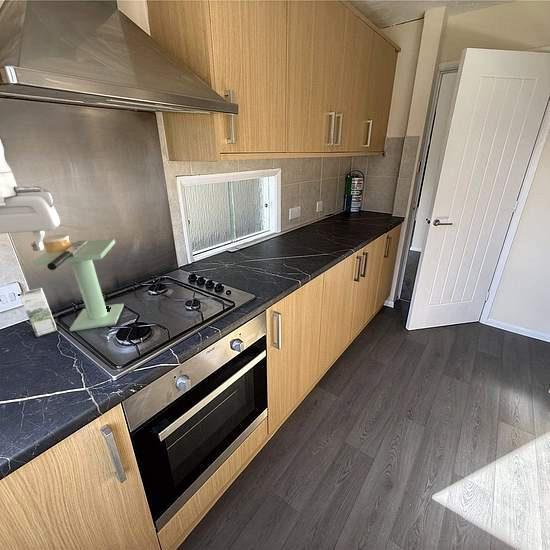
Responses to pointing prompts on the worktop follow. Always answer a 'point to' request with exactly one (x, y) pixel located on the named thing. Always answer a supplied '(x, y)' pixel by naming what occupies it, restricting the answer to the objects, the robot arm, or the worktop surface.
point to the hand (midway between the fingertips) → (14, 251)
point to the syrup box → (38, 311)
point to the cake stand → (84, 279)
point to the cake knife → (67, 254)
